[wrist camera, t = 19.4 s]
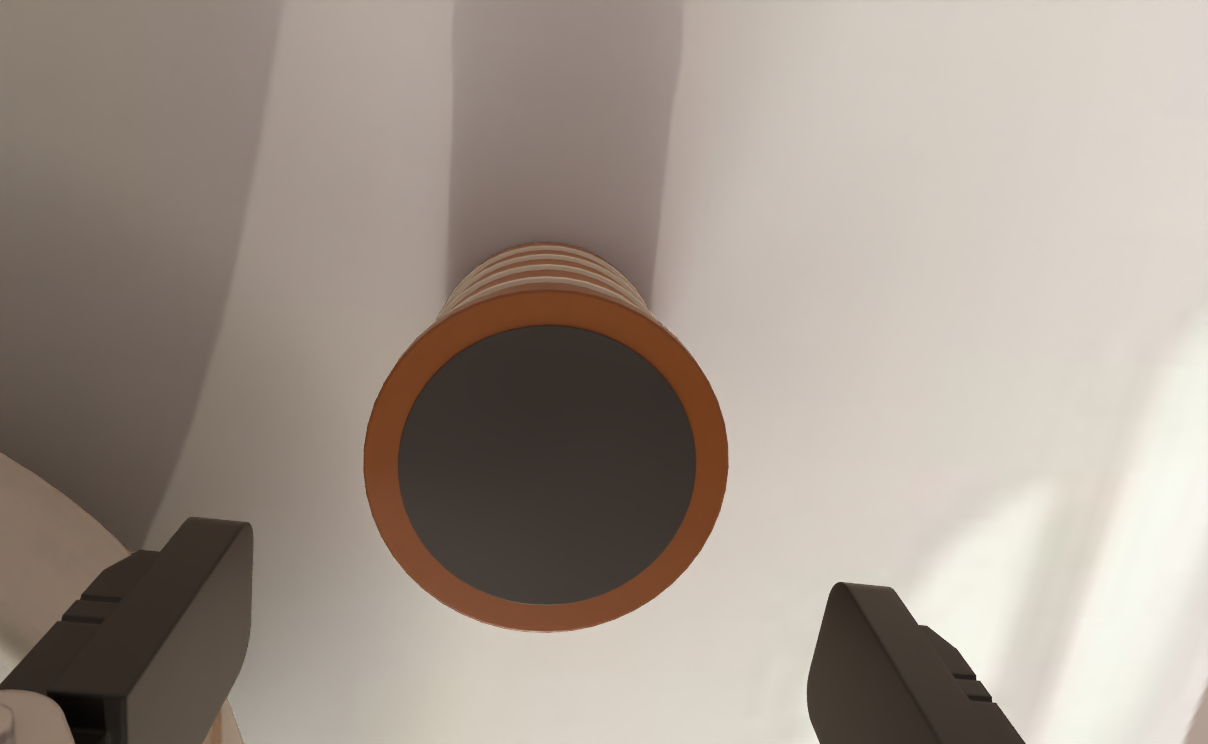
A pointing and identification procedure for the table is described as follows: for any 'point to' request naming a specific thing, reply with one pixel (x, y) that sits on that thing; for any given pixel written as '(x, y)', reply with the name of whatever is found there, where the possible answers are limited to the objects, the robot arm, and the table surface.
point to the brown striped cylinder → (545, 447)
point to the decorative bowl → (54, 569)
